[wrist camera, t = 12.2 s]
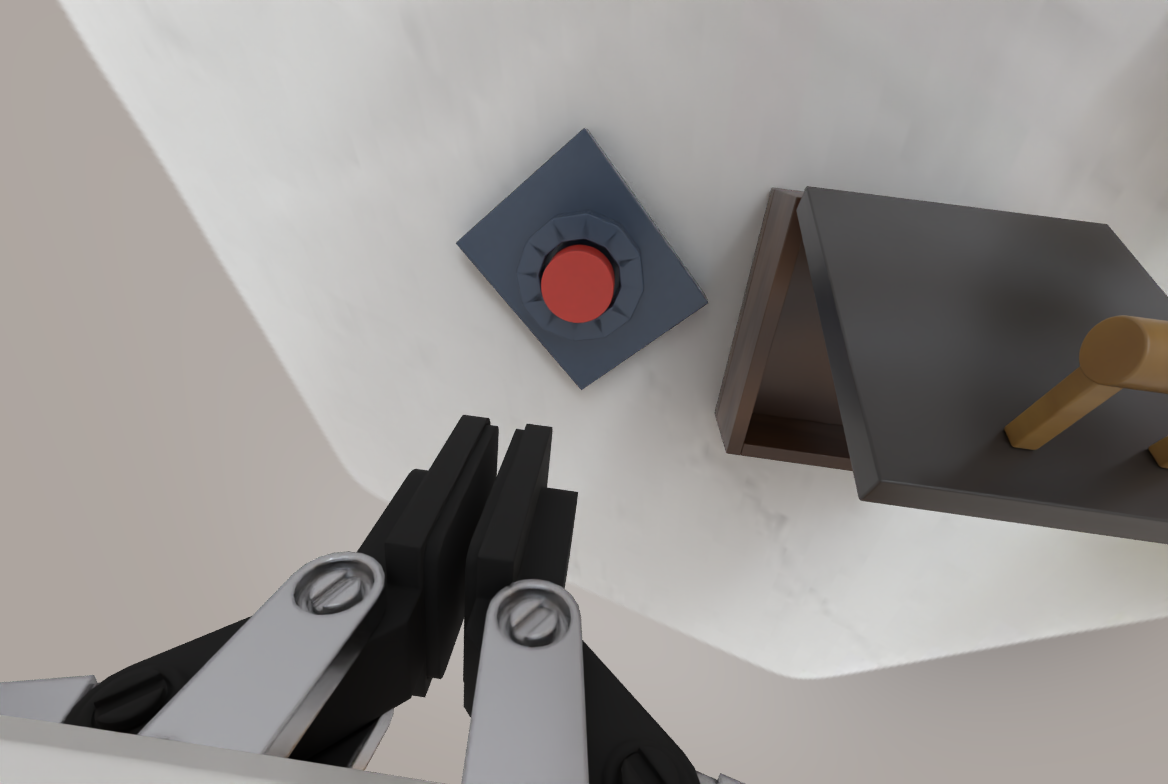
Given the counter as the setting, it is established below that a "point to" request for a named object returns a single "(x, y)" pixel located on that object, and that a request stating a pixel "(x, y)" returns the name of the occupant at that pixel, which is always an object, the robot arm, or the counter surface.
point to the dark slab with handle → (993, 362)
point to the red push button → (578, 283)
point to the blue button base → (594, 218)
